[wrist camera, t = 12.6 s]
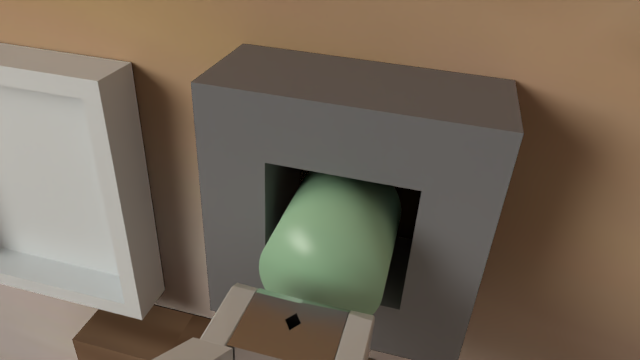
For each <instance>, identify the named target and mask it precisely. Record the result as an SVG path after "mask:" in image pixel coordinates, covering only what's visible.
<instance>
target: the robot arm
mask: <svg viewBox="0 0 640 360" xmlns="http://www.w3.org/2000/svg"><path fill="white" fill-rule="evenodd" d="M374 322H375V316H374V315H369V314H365V313H360V312H356V311H352V310H351V311H350V310H347V309H343V308H339V307H334V306H330V305H326V304H321V303H317V302H312V301H308V300H302V299H298V298H295V297H291V296H287V295H283V294H280V293H276V292H272V291H268V290H265V289H261V288H255V287H251V286H248V285H244V284H240V283H236V284H235V285H234V286H232V287H231V289H230V290H229V292H228V294H227V295H226V297H225V298H224V300H223V302H222V303H221V305H220V307H219V308H218V310H217V312H216V313H215V315H214V316H213V318H212V320H211V321H210V323H209V325H208V326H207V328H206V329H205V331H204V333H203V334H202V336H201V338H200V339H198V338H194V337H193V338H191V339H189V340H187V341H185V342H184V343H182V344H180V345H178V346H176V347H174V348H173V349H171V350H169V351H167V352H165V353H163V354H161V355H160V356H158V357H156V358H154V359H152V360H368V357H369V352H370V346H371V340H372V334H373V328H374Z"/></svg>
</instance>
